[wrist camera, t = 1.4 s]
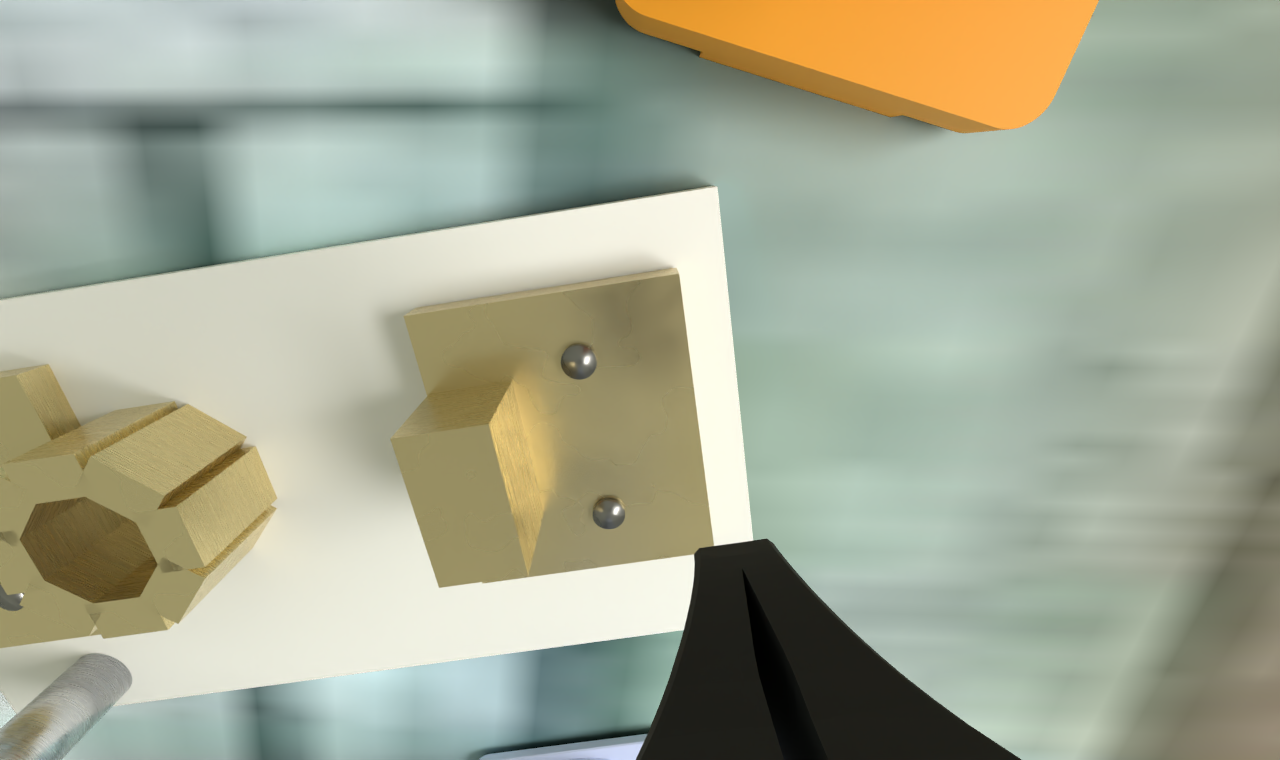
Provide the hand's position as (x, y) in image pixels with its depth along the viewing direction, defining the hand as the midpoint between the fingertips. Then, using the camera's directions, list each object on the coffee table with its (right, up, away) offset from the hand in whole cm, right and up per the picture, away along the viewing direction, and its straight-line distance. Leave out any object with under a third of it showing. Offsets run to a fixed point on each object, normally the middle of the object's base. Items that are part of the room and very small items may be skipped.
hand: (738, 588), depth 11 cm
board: (-12, 0, +9) cm, 15 cm away
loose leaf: (-4, +2, +8) cm, 9 cm away
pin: (-21, -7, +11) cm, 25 cm away
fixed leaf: (-20, 0, +9) cm, 22 cm away
